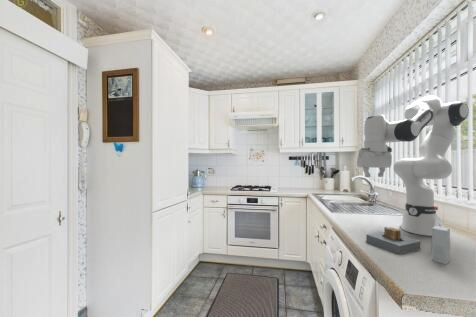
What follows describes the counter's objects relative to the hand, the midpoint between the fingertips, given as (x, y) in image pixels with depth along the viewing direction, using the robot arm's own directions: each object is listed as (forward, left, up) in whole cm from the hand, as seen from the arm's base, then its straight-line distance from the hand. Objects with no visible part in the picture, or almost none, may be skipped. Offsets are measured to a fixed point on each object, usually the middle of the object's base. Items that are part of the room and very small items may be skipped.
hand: (374, 177), depth 105 cm
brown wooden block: (+2, +10, -29) cm, 31 cm away
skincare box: (0, +26, -29) cm, 39 cm away
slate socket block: (+2, +10, -29) cm, 31 cm away
